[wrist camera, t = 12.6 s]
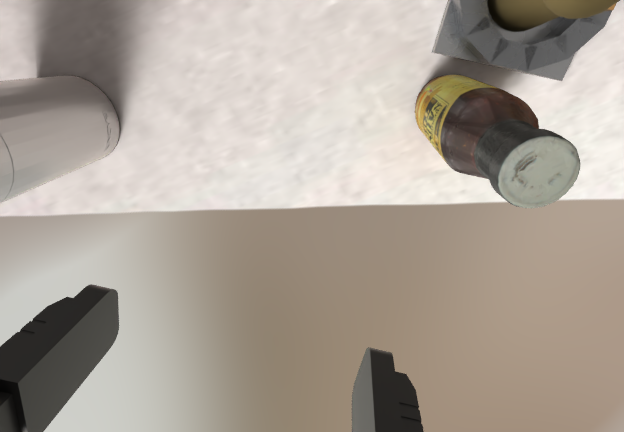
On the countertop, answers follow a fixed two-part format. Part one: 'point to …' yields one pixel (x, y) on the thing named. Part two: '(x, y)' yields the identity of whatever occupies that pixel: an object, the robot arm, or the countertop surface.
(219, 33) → the countertop surface
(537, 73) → the hub
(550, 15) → the cork
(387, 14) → the countertop surface
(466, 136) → the sauce bottle
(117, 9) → the countertop surface
